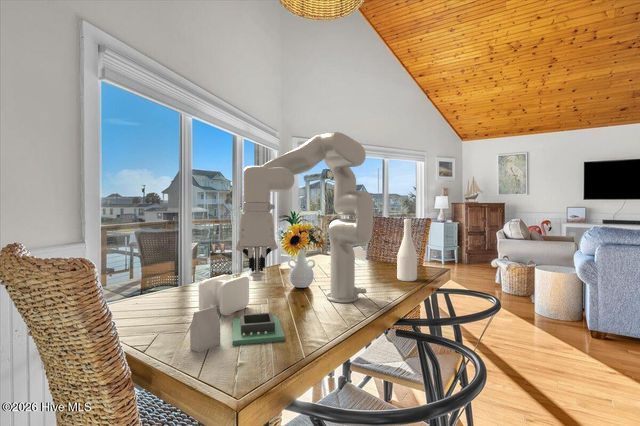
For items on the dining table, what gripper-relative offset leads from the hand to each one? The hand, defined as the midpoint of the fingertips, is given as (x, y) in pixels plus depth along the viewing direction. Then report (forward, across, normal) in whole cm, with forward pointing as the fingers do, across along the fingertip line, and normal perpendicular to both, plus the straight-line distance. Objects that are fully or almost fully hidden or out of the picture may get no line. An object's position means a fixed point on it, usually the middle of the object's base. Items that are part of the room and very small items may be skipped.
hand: (257, 270), depth 104 cm
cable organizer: (+19, +10, -22) cm, 30 cm away
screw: (+3, 0, 0) cm, 3 cm away
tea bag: (+18, +14, +8) cm, 25 cm away
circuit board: (+18, 0, 0) cm, 18 cm away
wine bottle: (+19, -76, -52) cm, 94 cm away
